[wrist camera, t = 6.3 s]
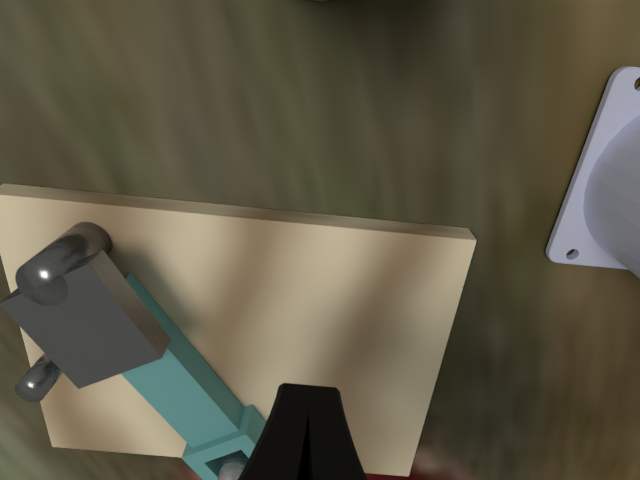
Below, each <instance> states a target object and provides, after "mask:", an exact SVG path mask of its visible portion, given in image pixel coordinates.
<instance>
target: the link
mask: <svg viewBox="0 0 640 480" xmlns="http://www.w3.org/2000/svg"><path fill="white" fill-rule="evenodd" d="M123 277H124V278H125V279H126V281H127V282H128V283H129V284H130V286H131V287H132V288H133V290H134V291H135V292H136V294H137V295H138V296H139V298H140V299H141V300H142V302H143V303H144V304H145V306H146V307H147V308H148V310H149V311H150V312H151V313H152V315H153V316H154V317H155V319H156V320H157V321H158V323H159V324H160V325H161V327H162V328H163V329H164V331H165V332H166V333H167V335H168V336H169V337H170V338H171V341H170V343H169V345H168V347H167V349H166V351H165V353H164V355H163V357H162V359H159V360H156V361H153V362H151V363H148V364H145V365H143V366H140V367H137V368H134V369H132V370H129V371H126V372H124V373H121V375H122V376H123V377H124V378H125V379H126V380H127V381H128V382H129V383H130V384H131V385H132V386H133V387H134V388H135V389H136V390H137V391H138V392H139V393H140V394H141V395H142V396H143V397H144V398H145V400H146V401H147V402H148V403H149V404H150V405H151V406H152V407H153V408H154V409H155V410H156V411H157V412H158V413H159V414H160V415H161V416H162V417H163V418H164V419H165V420H166V421H167V422H168V423H169V425H170V426H171V427H172V428H173V429H174V430H175V431H176V432H177V433H178V434H179V435H180V436H181V437H182V438H183V439H184V440H185V441H186V442H187V444H186V446H185V449H184V452H183V455H182V459H183V460H184V461H185V462H186V463H187V464H188V465H189V466H190V467H191V468H192V469H193V470H194V471H195V472H196V473H197V474H198V475H199V476H200V477H201V478H202V479H203V480H218V476H219V472H220V468H221V464H222V460H223V456H225V455H228V454H230V453H233V452H236V451H239V450H242V451H243V452H244V453H245V455H246V456H247V457H248V458H250V456H251V453H252V451H253V449H254V447H255V445H256V443H257V441H258V439H259V437H260V435H261V433H262V431H263V429H264V426H265V424H266V421H265V419H264V418H263V417H262V416H261V414H260V413H259V412H258V411H257V410H256V408H255V407H254V406H253V405H250V406H247V407H243V406H242V404H241V403H240V402H239V401H238V400H237V398H236V397H235V396H234V395H233V394H232V392H231V391H230V390H229V389H228V388H227V387H226V385H225V384H224V383H223V382H222V381H221V379H220V378H219V377H218V376H217V375H216V373H215V372H214V371H213V370H212V369H211V367H210V366H209V365H208V364H207V363H206V361H205V360H204V359H203V358H202V357H201V355H200V354H199V353H198V352H197V351H196V349H195V348H194V347H193V346H192V345H191V343H190V342H189V341H188V340H187V339H186V337H185V336H184V335H183V334H182V333H181V331H180V330H179V329H178V328H177V327H176V325H175V324H174V323H173V322H172V321H171V319H170V318H169V317H168V316H167V315H166V313H165V312H164V311H163V310H162V309H161V307H160V306H159V305H158V304H157V303H156V301H155V300H154V299H153V298H152V297H151V295H150V294H149V293H148V292H147V291H146V289H145V288H144V287H143V286H142V285H141V283H140V282H139V281H138V280H137V279H136V278H135V276H134V275H133V274H132V273H129V274H127V275H125V276H123Z"/></svg>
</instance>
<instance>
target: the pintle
mask: <svg viewBox="0 0 640 480" xmlns="http://www.w3.org/2000/svg"><path fill="white" fill-rule="evenodd" d="M248 460H249V458H248V457H247V456H246V455H245V453H244V452H243V451H242V450H239V451H236V452H233V453H230V454H228V455H225V456H223V460H222V464H221V468H220V472H219V476H218V480H238V478H239V476H240V475H241V473H242V471H243V469H244V467H245V465H246V464H247V462H248Z"/></svg>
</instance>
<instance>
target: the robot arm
mask: <svg viewBox="0 0 640 480" xmlns="http://www.w3.org/2000/svg"><path fill="white" fill-rule="evenodd" d="M639 77H640V67H631V66H625V67H621V68H619V69H617V70H616V71H615V72H614V73H613V74H612V75H611V77H610V78H609V81H608V83H607V86H606V89H605V91H604V94H603V97H602V99H601V102H600V105H599V107H598V110H597V113H596V115H595V118H594V121H593V124H592V126H591V129H590V132H589V134H588V137H587V140H586V142H585V145H584V148H583V150H582V153H581V156H580V158H579V161H578V164H577V167H576V169H575V172H574V175H573V177H572V180H571V183H570V185H569V188H568V191H567V193H566V196H565V199H564V201H563V204H562V207H561V210H560V212H559V215H558V218H557V220H556V223H555V226H554V228H553V231H552V234H551V236H550V239H549V242H548V245H547V247H546V252H545V253H546V255H547V257H548V258H549V259H550V260H551V261H552V262H555V263H563V264H574V265H585V266H595V267H606V268H616V269H627V270H630V271H631V272H632V273H634V274H635V275H636V276H637V277H638V278H640V87H638V88H637V89H635V88H634V83H635V81H636V80H637V78H639ZM571 249H574V251H573V253H572V254H570V255H566V254H567V252H568V251H569V250H571ZM238 480H367V478H366V475H365V473H364V470H363V467H362V465H361V462H360V460H359V457H358V454H357V451H356V449H355V446H354V443H353V440H352V437H351V433H350V430H349V427H348V424H347V420H346V417H345V413H344V409H343V405H342V400H341V394H340V391H339V390H338V389H337V388H336V387H326V386H315V385H303V384H292V383H283V384H281V385H280V386H279V387H278V391H277V395H276V398H275V401H274V404H273V407H272V410H271V412H270V415H269V417H268V419H267V422H266V424H265V426H264V429H263V431H262V433H261V435H260V437H259V439H258V441H257V443H256V445H255V447H254V449H253V451H252V453H251V456H250V458H249V460H248V462H247V464H246V465H245V467H244V469H243V471H242V473H241V475H240V476H239V478H238Z"/></svg>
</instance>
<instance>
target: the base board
mask: <svg viewBox="0 0 640 480" xmlns="http://www.w3.org/2000/svg"><path fill="white" fill-rule="evenodd" d="M80 222H91V223H95V224H97V225H99V226H100V227H102V228H103V229H104V230H105V231H106V232H107V233H108V234H109V236H110V238H111V240H112V250H111V253H110V254H109V255H108V257H109V258H110V259H111V261H112V262H113V263H114V265H115V266H116V267H117V269H118V270H119V271H120V273H121V274H122V275H123V276H125V275H127V274H129V273H132V274H133V275H134V276H135V278H136V279H137V280H138V281H139V282H140V283H141V285H142V286H143V287H144V288H145V289H146V291H147V292H148V293H149V294H150V295H151V297H152V298H153V299H154V300H155V301H156V303H157V304H158V305H159V306H160V307H161V309H162V310H163V311H164V312H165V313H166V315H167V316H168V317H169V318H170V319H171V321H172V322H173V323H174V324H175V325H176V327H177V328H178V329H179V330H180V331H181V333H182V334H183V335H184V336H185V337H186V339H187V340H188V341H189V342H190V343H191V345H192V346H193V347H194V348H195V349H196V351H197V352H198V353H199V354H200V355H201V357H202V358H203V359H204V360H205V361H206V363H207V364H208V365H209V366H210V367H211V369H212V370H213V371H214V372H215V373H216V375H217V376H218V377H219V378H220V379H221V381H222V382H223V383H224V384H225V385H226V387H227V388H228V389H229V390H230V391H231V392H232V394H233V395H234V396H235V397H236V398H237V400H238V401H239V402H240V403H241V404H242V406H243V407H247V406H250V405H253V406H254V407H255V408H256V410H257V411H258V412H259V413H260V414H261V416H262V417H263V418H264V419H265V421H266V422H267V419H268V417H269V415H270V412H271V410H272V407H273V404H274V401H275V398H276V395H277V391H278V387H279V386H280V385H281V384H283V383H292V384H303V385H315V386H326V387H336V388H337V389H338V390H339V391H340V394H341V400H342V405H343V409H344V413H345V417H346V420H347V424H348V427H349V430H350V433H351V437H352V440H353V443H354V446H355V449H356V451H357V454H358V457H359V460H360V462H361V465H362V467H363V470H364V473H373V474H385V475H397V476H409V474H410V470H411V467H412V463H413V460H414V456H415V453H416V449H417V446H418V442H419V439H420V435H421V432H422V428H423V425H424V421H425V418H426V414H427V411H428V408H429V404H430V401H431V397H432V394H433V390H434V387H435V383H436V380H437V376H438V373H439V369H440V366H441V362H442V359H443V355H444V352H445V348H446V345H447V342H448V338H449V335H450V331H451V328H452V324H453V321H454V317H455V314H456V310H457V307H458V303H459V300H460V296H461V293H462V289H463V286H464V282H465V279H466V276H467V272H468V269H469V265H470V262H471V258H472V255H473V251H474V248H475V244H476V241H477V240H476V239H475V237H474V236H473V234H472V233H471V231H470V230H469V229H468V228H461V227H451V226H441V225H430V224H420V223H409V222H399V221H389V220H378V219H368V218H358V217H347V216H337V215H326V214H316V213H306V212H295V211H285V210H275V209H264V208H254V207H244V206H233V205H223V204H212V203H202V202H192V201H181V200H171V199H161V198H150V197H140V196H130V195H119V194H109V193H98V192H88V191H78V190H67V189H57V188H47V187H36V186H26V185H15V184H5V183H4V184H2V185H0V255H1V258H2V262H3V266H4V269H5V273H6V277H7V281H8V284H9V288H10V292H11V293H12V292H13V291H14V290H16V289H17V288H18V287H17V284H16V280H15V275H16V272H17V270H18V268H19V267H20V266H22V265H23V264H24V263H26V262H27V261H28V260H30V259H31V258H32V257H33V256H35V255H36V254H37V253H39V252H40V251H41V250H43V249H44V248H45V247H46V246H48V245H49V244H50V243H52V242H53V241H54V240H56V239H57V238H58V237H59V236H61V235H62V234H63V233H65V232H66V231H67V230H69V229H70V228H71V227H72V226H74V225H75V224H77V223H80ZM20 329H21V333H22V336H23V340H24V344H25V347H26V351H27V355H28V359H29V362H30V366H31V367H32V366H33V365H34V364H35V363H36V361H37V360H38V359H39V358H40V357H41V356H42V355H43V353H44V352H43V351H42V350H41V348H40V347H39V346H38V345H37V344H36V343H35V342H34V341H33V340H32V339H31V338H30V337H29V336H28V335H27V334H26V332H25V331H24V330H23V329H22V328H21V327H20ZM40 403H41V407H42V411H43V414H44V418H45V422H46V425H47V429H48V433H49V437H50V440H51V444H52V447H62V448H74V449H86V450H98V451H110V452H122V453H134V454H146V455H158V456H170V457H182V455H183V452H184V449H185V446H186V444H187V442H186V441H185V440H184V439H183V438H182V437H181V436H180V435H179V434H178V433H177V432H176V431H175V430H174V429H173V428H172V427H171V426H170V425H169V423H168V422H167V421H166V420H165V419H164V418H163V417H162V416H161V415H160V414H159V413H158V412H157V411H156V410H155V409H154V408H153V407H152V406H151V405H150V404H149V403H148V402H147V401H146V400H145V398H144V397H143V396H142V395H141V394H140V393H139V392H138V391H137V390H136V389H135V388H134V387H133V386H132V385H131V384H130V383H129V382H128V381H127V380H126V379H125V378H124V377H123V376H122V375H121V374H118V375H115V376H113V377H110V378H107V379H105V380H102V381H99V382H96V383H94V384H91V385H88V386H86V387H83V388H80V389H78V388H77V387H76V386H75V385H74V384H73V383H72V382H71V381H70V379H69V378H68V377H67V376H66V375H65V374H64V373H63V374H62V375H61V377H60V378H59V379H58V380H57V382H56V383H55V384H54V386H53V387H52V388H51V389H50V391H49V392H48V393H47V395H46V396H45V397H44V398H43V400H41V401H40Z"/></svg>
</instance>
